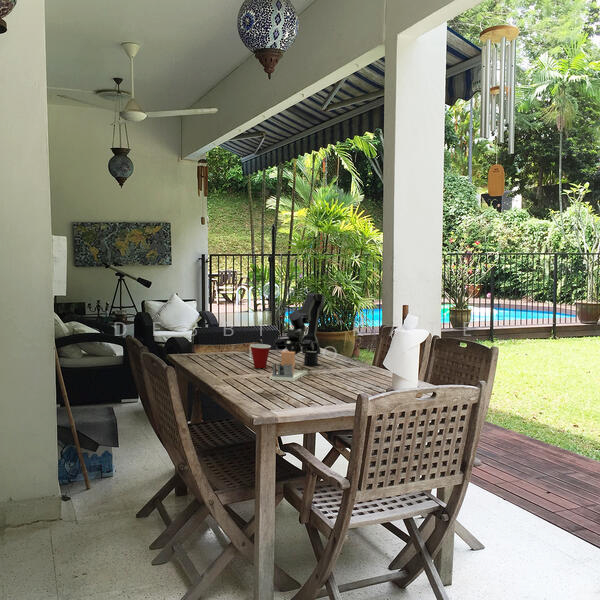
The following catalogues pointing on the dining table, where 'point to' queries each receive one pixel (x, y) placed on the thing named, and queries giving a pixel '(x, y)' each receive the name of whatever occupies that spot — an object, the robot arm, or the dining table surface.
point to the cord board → (296, 375)
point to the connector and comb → (286, 369)
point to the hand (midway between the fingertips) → (290, 358)
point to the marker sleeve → (288, 359)
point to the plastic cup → (260, 354)
